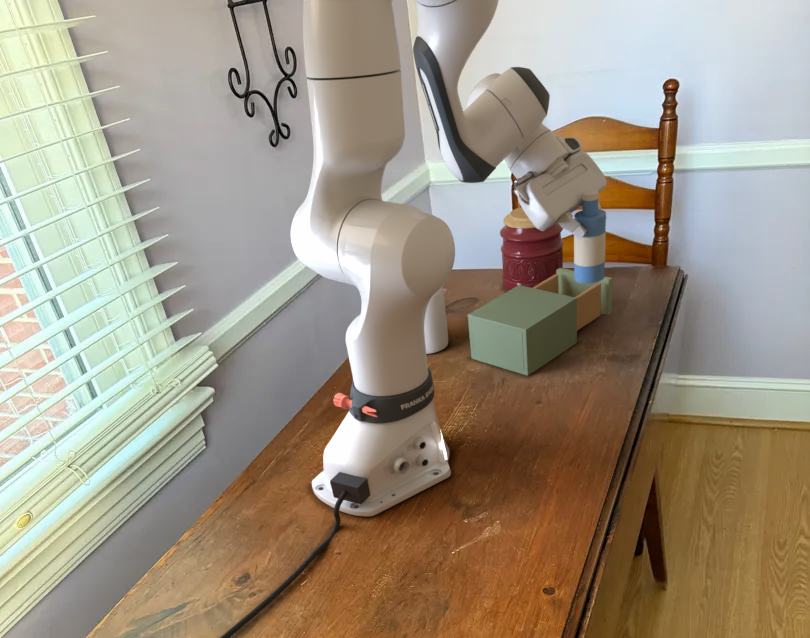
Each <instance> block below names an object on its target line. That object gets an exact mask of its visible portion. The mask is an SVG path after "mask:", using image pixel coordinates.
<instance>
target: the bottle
mask: <svg viewBox="0 0 810 638" xmlns="http://www.w3.org/2000/svg"><path fill="white" fill-rule="evenodd" d="M599 195H600V193H599V192H598V191H597V190H588V191H584V192H583V197H582V199H583V200H582V206H581V208H582V209H581V210H580V211H577V212H576V213H574V215H573V217H574V218H573V219H575V220H576V221H577V222H578V223H580V224H581V223H583V224H584V225H585V227H586V228H587V229H588V233H587V234H586V235H585V236H584V237H582V238H581V239H577V238H576V237H575V236H574V235H573V270H574V280H575V281H577V282H579V283H595V282H599V281H601V280H602V279H603V278H604V276H605V264H606V263H605V262H606V241H607V239H606V237H607V236H606V235H607V231H606V230H607V228H606V227H607V218H606V217H607V212H606V211H605V210H603V209H601V210H600V209H598V199H599Z"/></svg>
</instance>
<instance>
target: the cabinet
mask: <svg viewBox="0 0 810 638" xmlns="http://www.w3.org/2000/svg"><path fill="white" fill-rule="evenodd" d="M467 322H468V333H469V344H470V355H471V360H475V361H478V362H482V363H484V364H489V365H491V366H493V367H494V366H495V367H498V368H501V369H505V370H508V371H511V372H514V373H518V374H521V375H524V376H526V377H527V376H530V375H532V374H533V373H534V372H536V371H537V370H539V369H540V368H541V367H543V366H545V365H546V364H548V363H549V362H551V361H552V360H553V359H556V358H557V357H558V356H560V355H561V354H562V353H563V352H565V351H567V350H568V349H570V348H572V347H573V346H574V345H576V344H577V343H578V339H577V337H578V330H577V298H575V297H571V296H566V295H562V294H557V293H552V292H548V291H543V290H539V289H534V288H530V287H525V286H521V285H518V286H516V287H515V288H513V289H511V290H509V291H506V292H504V293H503V294H501V295H499V296H497V297H495V298H493V299H492V300H490V301H489V302H487V303H485V304H483V305H482V306H480V307H479V308H476V309H475V310H473V311H471V312H469V313H468V314H467Z"/></svg>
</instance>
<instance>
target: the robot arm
mask: <svg viewBox="0 0 810 638" xmlns="http://www.w3.org/2000/svg"><path fill="white" fill-rule="evenodd" d="M499 1H500V0H414V2H415V7H416V13H417V14H416V15H417V28H416V29H417V30H416V37H415V40H414V43H413V45H412V53H413V54H412V55H413V60H414V64H415V68H416V71H417V74H418V78H419V82H420V85H421V88H422V89H421V90H422V91H423V95H424V97H425V100H426V104H427V107H428V110H429V113H430V117H431V119H432V122H433V126H434V129H435V133H436V137H437V138H436V139H437V145H438V149H439V152H440V154H441V158H442V160H443V163H444V164H445V166H446V168H447V169H448V171H449V172H450V173H451V174H452V176H453V177H455V178H456V179H457V180H458V181H459V182H461V183H465V184H478V183H479V184H480V183H484V182H485V181H486V180H487V179H488V178H489V176H490V175H492V173H493V172H494V171H495V170H496V169H497V167H498V166H499V165H500V164H501V163H502V162H503V161H505V163H506V165H507V168H508V170H509V171H510V172H511V174H512V175H513V176H514V177H515V178H516V179H515V180H514V182H513V189H514V190H513V193H514V194H515V195H516V196H517V200H518V204H519V205H520V207H522V209H523V210H524V212H525V213H526V215H527V216H528V218H529V219H530V221H531V222H532V224H533V225H534V226H535V227H536V228H537V229H539V230H541V231H545V230H546V229H548V228H549V227H551V226H552V225H554V224H555V223H557V222H558V223H559V225H560V226H561V227H562V228H563V230H565V231H568V232H570V233H572V235H573V237H574V236H575V237H576V238H577V239H581V238H582V237H584V236H585V235H586V234H587V233H588V229H587V228H586V227H585V225H584V224H583V223H581V224H580V223H578V222H577V221H576V220H575V219H574V218H573V217H574V215H573V214H572V213H573V212H575V211H576V210H578V209H580V208H582V200H583V199H582V197H583V192H584V191H588V190H597V191H598V192H599V194H600V193H601V192H602V191H603V190H604V189H605V188H606V187H607V185H608V183H607V182H608V181H607V178H606V176H605V174H604V173H603V171H602V169H600V167H599V165H598V164H597V163H596V162H595V161H594V159H593V158H592V157H591V156H590V154H589V153H587V152H586V151H584V150H581V149H582V148H583V143H582V141H580V139H579V138H578V137H575V136H571V137H568V136H561V135H555V134H554V133H553V131H552V130H551V129H550V128H549V127H547V126H546V125H544V124H543V122H544V120H545V119H546V117H547V116H548V112H549V107H550V99H551V98H550V97H551V95H550V93H549V91H548V90H547V88H546V87H545V86H544V85H543V83H542V82H541V81H540V80H539V78H538V77H537V76H536V74H535V73H534V72H533V71H532V70H531V68H528V67H523V66H522V67H521V66H511V67H509V68H507V70H505V71H504V72H502V73H498V72H494V73H491V74H489V75H487V76H485V77H484V78H483V79H482V80H480V81H479V82H478V83H477V85H475V86H474V88H473V89H472V91H471V93H470V95H469V97H468V100H467V104H466V109H464V108H463V106H462V102H461V99H460V95H459V90H458V87H459V81H460V78H461V75H462V73H463V70H464V68H465V66H466V64H467V62H468V61H469V59H470V57H471V55H472V53H473V51H475V49H476V48H477V45H478V44H479V42H480V41H481V40H482V38H483V36H484V35H485V33H486V32H487V31H488V29H489V27H490V25H491V23H492V21H493V20H494V17H495V14H496V11H497V9H498V5H499ZM393 2H394V1H393V0H303V3H302V38H303V41H302V42H303V56H304V59H303V60H304V67H305V76H306V84H307V93H308V94H307V95H308V101H309V102H308V103H309V112H310V121H311V130H312V131H311V132H312V141H313V143H312V144H313V159H312V168H311V169H312V171H311V177H310V183H309V187H308V191H307V195H306V197H305V199H304V201H303V202H302V203H301V205H300V206H299V207H298V209H296V211H295V214H294V216H293V218H292V222H291V224H290V225H291V226H290V242H291V247H292V250H293V252H294V255H295V256H296V257H297V260H299V261H300V263H302V264H303V265H304V266H306V267H307V268H308V269H309V270H311V271H313V272H315V273H317V275H320V276H321V277H323V278H325V279H328V280H331V281H336V282H339V283H343V284H347V285H351V286H355V287H356V288H357V291H358V292H359V295H360V303H361V308H360V309H361V310H360V313H359V315H357V316H356V317H355V318H354V319H353V320H352V322H351V323H350V324H349V325H348V327H347V329H346V332H345V337H344V338H345V344H346V351H347V356H348V360H349V366H350V370H351V375H352V381H351V387H350V394H349V395H346V394H344V393H343V392H337V393H336V394H335V395H334V396H333V399H332V400H333V405H334V406H335V407H336V408H337V407H338V408H341V409H343V410H348V412H347V413H346V415H345V417H344V418H343V420H342V421H341V423H340V425H339V426H338V427H337V430H336V431H335V432H334V434H333V435H332V437H331V439H330V440H329V442H328V443H327V444H326V446H325V448H324V450H323V454H322V457H323V458H322V466H323V470H322V471H321V472H320V473H319V474H317V476H315V478H313V479H312V481H311V488H312V491H313V494H314V495H315V496H316V497H317V499H319V500H320V501H321V502H323V503H324V504H325V505H327V506H329V507H330V508H333V516H334V524H333V527H332V529H331V532H330V534H329V536H328V537H327V538H326V539H325V540H324V541H323V542H321V544H319V546H317V547H316V548H315V549H314V550H313V551H312V552H311V553H310V555H309V556H308V557H307V558H306V559H305V560H304V561H303V562H302V563H301V565H300V566H299V567H298V568H297V569H296V570H295V571H294V572H293V573H291V575H290V576H289V577H288V578H287V579H285V581H284V582H282V583H281V584H280V585H279V586H278V587H277V588H276V589H275V590H274V591H273V592H272V593H271V594H270V595H269V596H268V597H266V598H265V599H264V600H263V601H262V602H261V603H259V604H258V605H257V606H256V607H255V608H253V609H252V610H251V611H250V612H248V614H247V615H245V616H244V617H243V618H242V619H241V620H239V621H238V622H237V623H235V624H234V625H233V626H232V627H231V628H229V630H227V631H226V632H225V633H223V635H221V636H220V637H219V638H231V637H232V636H233V635H234V634H236V633H237V632H238V631H240V630H241V628H243V627H244V626H245V625H246V624H247V623H249V622H250V621H251V620H252V619H253V618H255V617H256V616H257V615H258V614H259V613H261V612H262V611H263V610H264V609H265V608H267V606H268V605H270V604H271V603H272V602H273V601H274V600H275V599H276V598H277V597H278V596H279V595H280V594H282V593H283V592H284V591H285V590H286V589H287V588H288V587H289V586H290V585H291V584H292V583H293V582H294V581H295V580H296V579H297V578H298V577H299V576H300V575H301V574H302V573H303V572H304V571H305V570H306V569H307V567H309V565H310V564H311V563H312V562H313V561H314V559H315V558H316V557H318V555H319V554H320V553H321V552H322V551H323V550H324V549H326V547H327V546H328V545H329V544H330V542H331V540H332V538H333V537H334V536H335V534H336V533H337V532H338V530H339V529H340V526H341V525H340V524H341V515H340V512H342V513H345V514H347V515H351V516H355V517H366V518H367V517H374V516H377V515H378V514H380V513H382V512H384V511H387V510H388V509H390V508H392V507H394V506H397V504H400V503H401V502H404V501H405V500H408V499H409V498H411V497H413V496H416V495H417V494H419V493H420V492H423V491H425V490H427V489H429V488H430V487H433V486H435V485H436V484H438V483H440V482H442V481H444V480H446V479H448V478H450V477H451V475H452V472H451V469H450V468H451V467H450V465H449V459H450V448H449V445H448V444H447V442H446V440H445V437H444V436H443V435H444V434H443V433H442V430H441V427H440V423H439V419H438V415H437V412H436V408H435V404H434V397H435V385H434V380H433V374H432V371H431V368H429V365H428V356H427V355H428V354H426V345H425V334H424V321H425V314H426V309H427V306H428V303H429V301H430V299H431V297H432V296H433V295H434V294H435V293H436V292H437V291H439V290H440V289H441V288H442V287H444V286H445V284H446V283H447V281H448V280H449V278H450V276H451V274H452V271H453V269H454V264H455V258H456V246H455V239H454V236H453V232H452V231H451V228H450V227H449V225H448V224H447V223H446V222H445V221H444V220H443V219H442V218H439V217H437V216H436V215H434V214H432V213H430V212H428V211H426V210H424V209H422V208H419V207H417V206H415V205H410V204H405V203H399V202H392V201H387V200H384V199H383V198H382V197H383V196H382V185H383V178H384V173H385V170H386V167H387V165H388V163H390V162H391V161H392V160H393V159H394V158H395V157H397V155H398V154H400V152H401V150H402V148H403V146H404V143H405V139H406V128H405V115H404V114H405V113H404V102H403V101H404V100H403V99H404V98H403V82H402V69H401V68H402V67H401V54H400V47H399V39H398V31H397V23H396V19H395V18H396V17H395V13H394V8H393V7H394V6H393ZM598 209H600V210H602V207H601V203H600V201H599V198H598ZM607 218H608V217H607V216H606V219H607Z"/></svg>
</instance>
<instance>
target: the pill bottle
mask: <svg viewBox="0 0 810 638" xmlns="http://www.w3.org/2000/svg"><path fill="white" fill-rule="evenodd" d="M443 287H444V286H442V288H441V289H440V290H439V291H437V292H436V293H435V294H434V295H433V296H432V297H431V299H430V301H429V303H428V306H427V309H426V314H425V321H424V334H425V345H426V355H430V354H435V353H438V352H440V351H443V350H444V349H445V348H447V347H448V345H449V331H448V322H447V312H446V311H447V310H446V301H445V293H444V288H443Z"/></svg>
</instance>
